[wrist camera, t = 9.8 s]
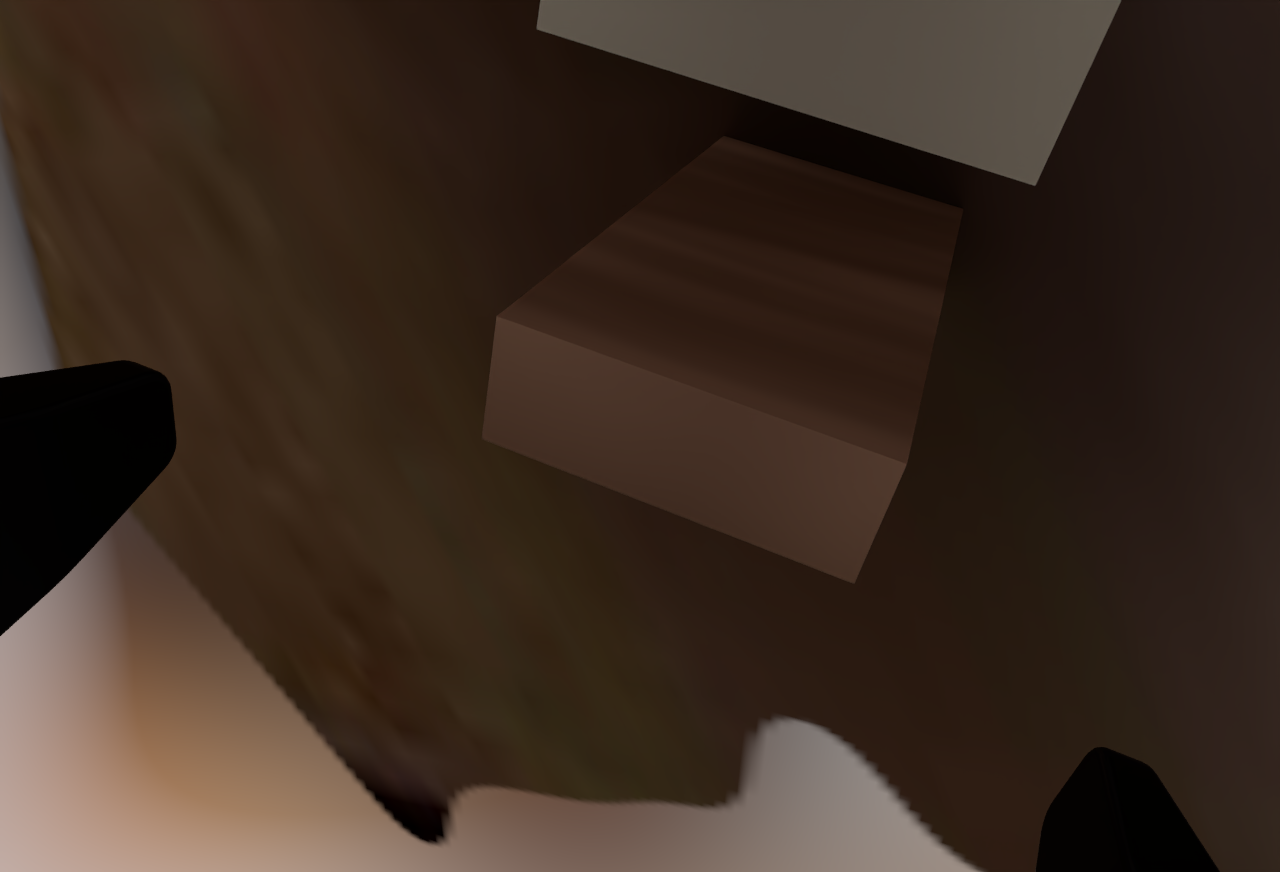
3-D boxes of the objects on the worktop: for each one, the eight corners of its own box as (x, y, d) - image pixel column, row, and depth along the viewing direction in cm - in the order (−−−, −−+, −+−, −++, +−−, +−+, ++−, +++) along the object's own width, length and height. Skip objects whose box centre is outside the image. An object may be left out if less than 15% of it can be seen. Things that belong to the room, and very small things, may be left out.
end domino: (723, 135, 19) (496, 316, 11) (963, 209, 18) (906, 464, 10) (703, 218, 20) (482, 439, 12) (929, 291, 19) (854, 584, 11)
